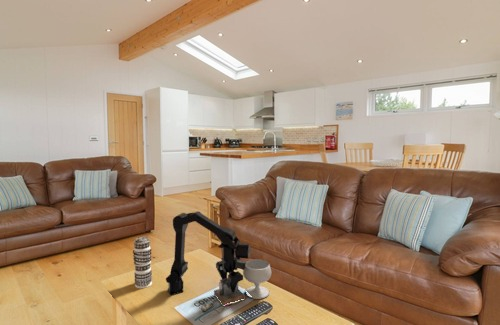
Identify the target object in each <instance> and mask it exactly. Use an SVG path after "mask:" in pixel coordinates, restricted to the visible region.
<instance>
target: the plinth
mask: <svg viewBox="0 0 500 325" xmlns="http://www.w3.org/2000/svg"><path fill="white" fill-rule="evenodd" d="M213 293H214V294H215V295H216V296H217V297H218V299H219V300H220V301H221V303H222V304H223V305H225V304H227V303H230V302H235V301H238V300H241V299H244V298H245V295H246V294H244V293H243V292H242V291H241V290H240V289H239V288H238V293H235V294H232V295H228V296H225V297H224V296H223V295H221V296H220V295H219V288H218V289H215V290H214V291H213ZM214 294H213V295H214ZM218 299H217V300H218ZM245 299H246V298H245ZM221 303H220V304H221ZM222 304H221V305H222Z"/></svg>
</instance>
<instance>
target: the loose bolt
mask: <svg viewBox="0 0 500 325" xmlns="http://www.w3.org/2000/svg"><path fill="white" fill-rule="evenodd" d="M213 304H214V303H213V302H212V301H210V302H209V303H207V304H206V305H205V304H203V305H201V307H200V310H201V311H202V312H203V311H205V312H206V311H207V310H208V309H210V308H211V307H212V306H213ZM211 305H212V306H211ZM210 306H211V307H210ZM209 307H210V308H209Z"/></svg>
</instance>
